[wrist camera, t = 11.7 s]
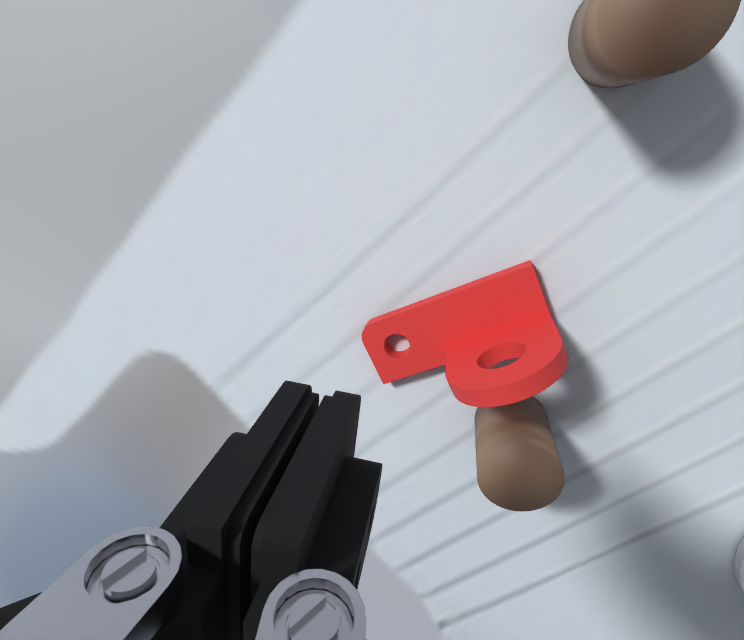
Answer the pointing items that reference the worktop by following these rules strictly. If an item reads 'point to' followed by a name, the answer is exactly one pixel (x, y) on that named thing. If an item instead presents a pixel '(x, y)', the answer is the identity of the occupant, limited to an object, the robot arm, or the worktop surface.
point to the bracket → (476, 339)
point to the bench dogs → (609, 70)
